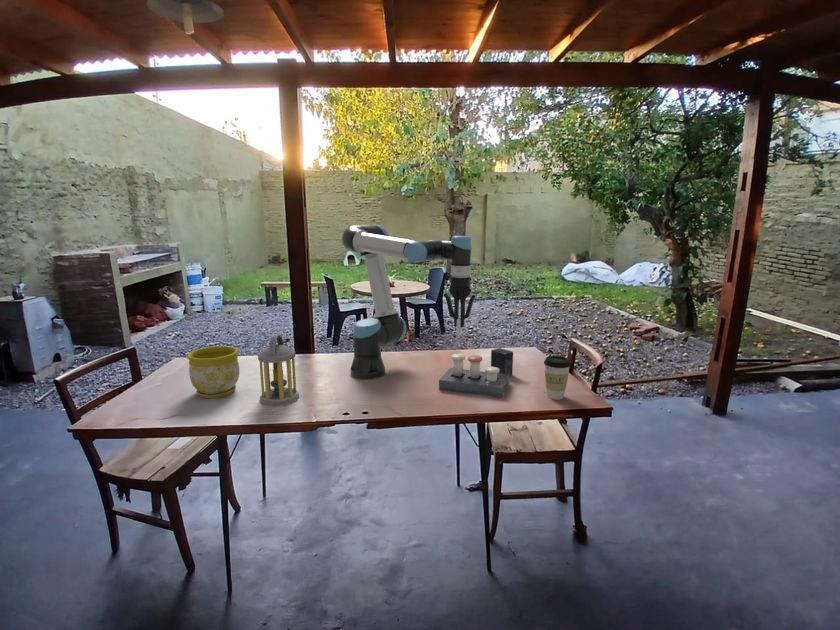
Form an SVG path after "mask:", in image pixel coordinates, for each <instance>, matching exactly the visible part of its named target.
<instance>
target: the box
mask: <svg viewBox="0 0 840 630" xmlns="http://www.w3.org/2000/svg"><path fill="white" fill-rule="evenodd" d="M490 352H491V353H490V354H491V355H490V356H491V357H490V367H497V368H499V373H501V374H509V377H510V376H513V370H514V369H513V367H514V366H513V365H514V364H513V363H514V351H512V350H508V349H504V348H501V347H499V348H494V349H491V351H490Z"/></svg>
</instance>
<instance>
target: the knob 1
mask: <svg viewBox="0 0 840 630" xmlns="http://www.w3.org/2000/svg"><path fill="white" fill-rule="evenodd" d="M450 358H451V360H452V368H453V375H454V376H462V375H463V369H464V360H465V359H466V355H465V354H463V353H454V354H451V356H450Z"/></svg>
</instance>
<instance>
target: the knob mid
mask: <svg viewBox="0 0 840 630" xmlns="http://www.w3.org/2000/svg"><path fill="white" fill-rule="evenodd" d="M467 360H468V361H469V370H470V377H471V378H479V377H480V371H481V362H482V361H483V356H481V355H469V356H467Z"/></svg>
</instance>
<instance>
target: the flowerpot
mask: <svg viewBox="0 0 840 630" xmlns="http://www.w3.org/2000/svg"><path fill="white" fill-rule="evenodd" d="M238 354H239V349H238V348H236V347H235V346H231V345H229V346H228V345H215V346H214V345H213V346H207V347H201V348H198V349H197V348H196V349H195V350H191V351H190V352H188V354H187V356H186V357H187V360H188V364H189V368H188V369H189V370H188V372H189V379H190V382H191V384H192V386H193V387H194V388H195V389H196V394H197V395H199V396H200V397H201V398H205V399H217V398H223V397H227V396H229V395H231V394H233V392H234V391H235V390H236V388H237V385H236V384H237V383H238V380H239V378H240V363H239V359H238V357H239V356H238Z"/></svg>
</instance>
